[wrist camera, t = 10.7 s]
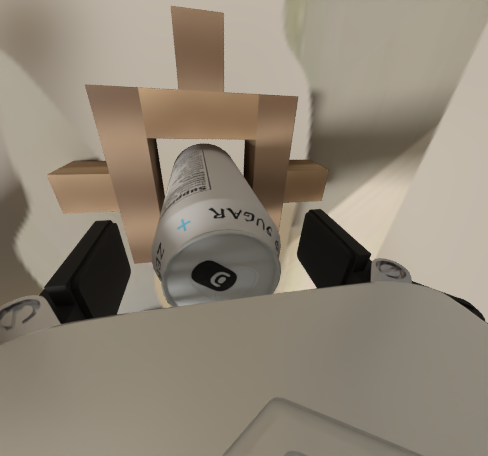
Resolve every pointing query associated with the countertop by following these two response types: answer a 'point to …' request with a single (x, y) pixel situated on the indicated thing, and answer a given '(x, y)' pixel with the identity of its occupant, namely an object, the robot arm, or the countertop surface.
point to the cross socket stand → (184, 137)
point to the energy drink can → (213, 233)
